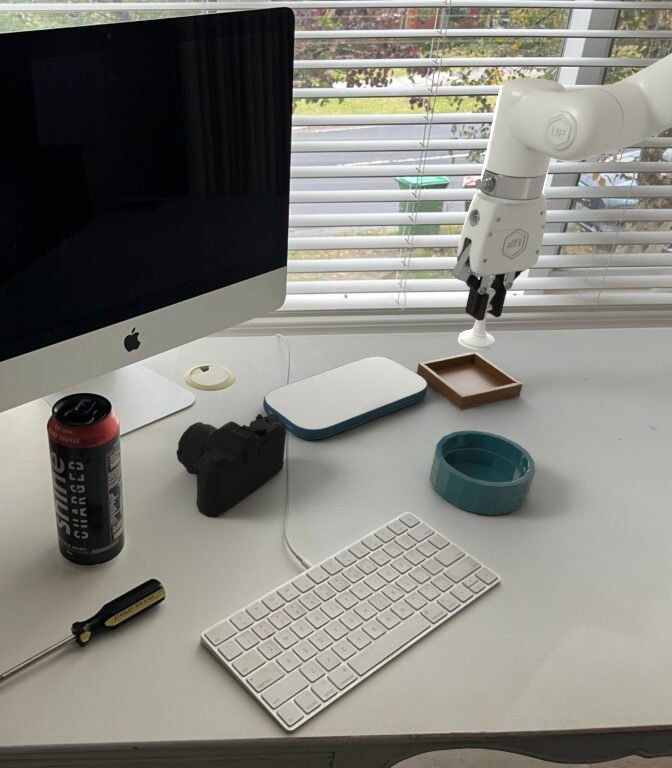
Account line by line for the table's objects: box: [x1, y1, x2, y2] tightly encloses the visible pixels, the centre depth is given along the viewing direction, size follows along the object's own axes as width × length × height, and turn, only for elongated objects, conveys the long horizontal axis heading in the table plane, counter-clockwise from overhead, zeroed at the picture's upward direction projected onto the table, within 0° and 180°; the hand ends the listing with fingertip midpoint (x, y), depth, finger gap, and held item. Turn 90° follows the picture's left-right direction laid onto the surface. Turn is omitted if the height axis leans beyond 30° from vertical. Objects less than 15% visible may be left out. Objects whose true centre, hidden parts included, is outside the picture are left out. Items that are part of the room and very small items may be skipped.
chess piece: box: [457, 276, 496, 352], centre depth 110 cm, size 5×5×10 cm
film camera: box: [176, 413, 288, 518], centre depth 95 cm, size 15×10×9 cm, turn 135°
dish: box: [429, 429, 536, 516], centre depth 95 cm, size 11×11×4 cm
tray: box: [416, 350, 524, 410], centre depth 115 cm, size 10×10×2 cm
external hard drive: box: [262, 355, 429, 440], centre depth 112 cm, size 24×12×2 cm, turn 121°
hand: (482, 313), depth 110 cm, fingers closed on chess piece
